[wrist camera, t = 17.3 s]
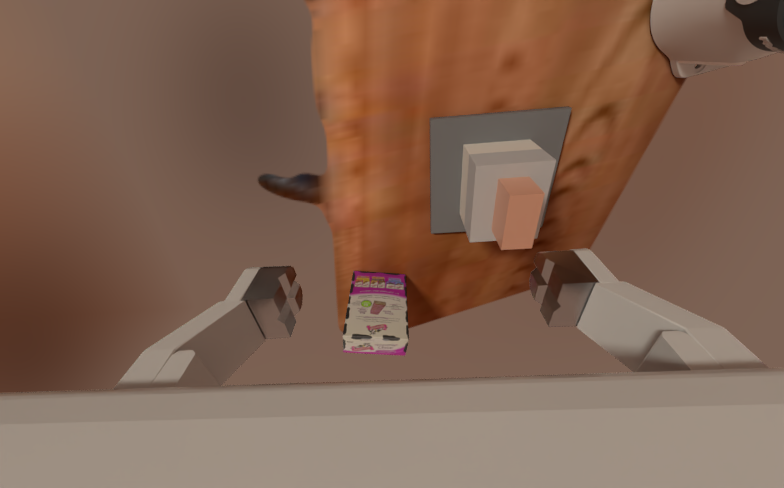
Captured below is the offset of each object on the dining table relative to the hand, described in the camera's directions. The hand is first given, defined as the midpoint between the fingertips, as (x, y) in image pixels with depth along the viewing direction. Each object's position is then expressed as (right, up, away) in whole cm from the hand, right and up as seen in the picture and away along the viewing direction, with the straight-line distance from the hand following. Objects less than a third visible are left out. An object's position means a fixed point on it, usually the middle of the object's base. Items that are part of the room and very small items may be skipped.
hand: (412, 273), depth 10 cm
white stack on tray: (+16, +12, +39) cm, 44 cm away
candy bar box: (-3, -7, +53) cm, 54 cm away
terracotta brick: (+16, +6, +31) cm, 35 cm away
